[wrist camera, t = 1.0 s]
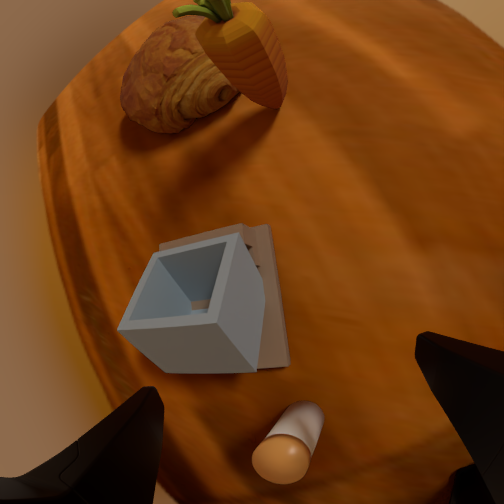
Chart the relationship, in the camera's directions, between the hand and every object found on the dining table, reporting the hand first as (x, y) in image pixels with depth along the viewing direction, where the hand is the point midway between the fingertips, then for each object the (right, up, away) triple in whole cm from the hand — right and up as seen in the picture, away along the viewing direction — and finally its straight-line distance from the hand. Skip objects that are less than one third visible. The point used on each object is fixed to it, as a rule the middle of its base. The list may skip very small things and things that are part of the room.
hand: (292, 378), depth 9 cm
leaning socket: (-3, 0, +15) cm, 15 cm away
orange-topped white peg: (+3, -9, +11) cm, 15 cm away
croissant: (-8, +23, +20) cm, 31 cm away
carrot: (+1, +17, +15) cm, 23 cm away
